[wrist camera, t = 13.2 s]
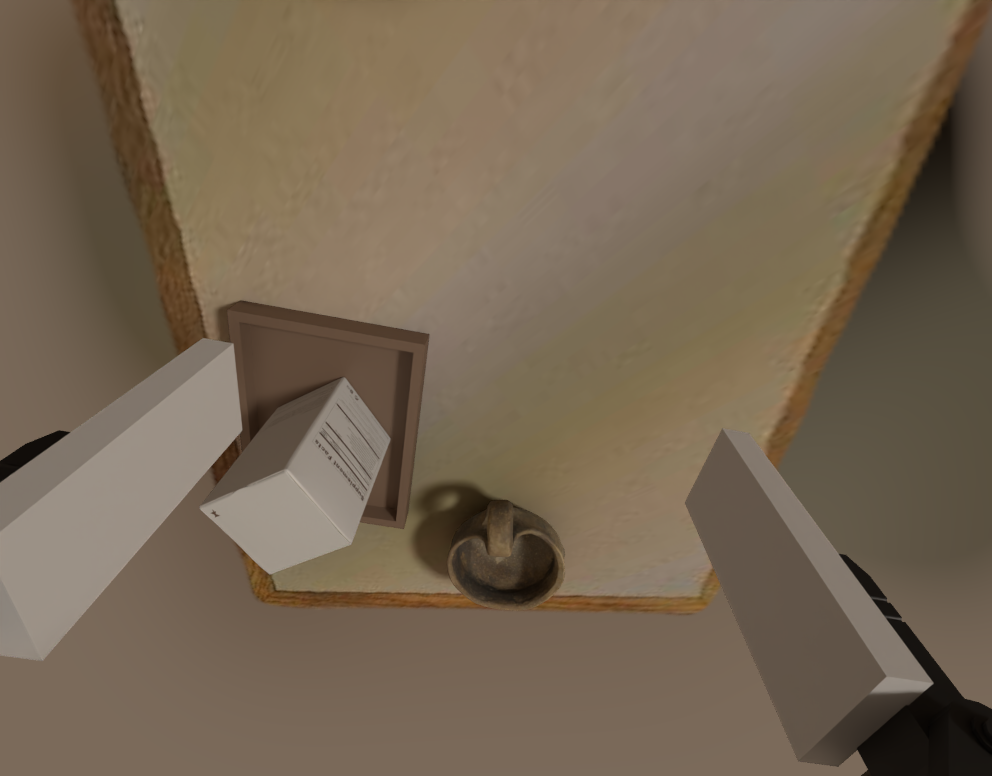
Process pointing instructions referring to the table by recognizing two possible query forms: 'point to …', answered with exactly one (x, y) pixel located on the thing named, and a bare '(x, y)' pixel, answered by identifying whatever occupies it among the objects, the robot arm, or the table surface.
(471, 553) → the bowl
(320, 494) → the supplement box
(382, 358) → the tray
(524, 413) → the table surface
